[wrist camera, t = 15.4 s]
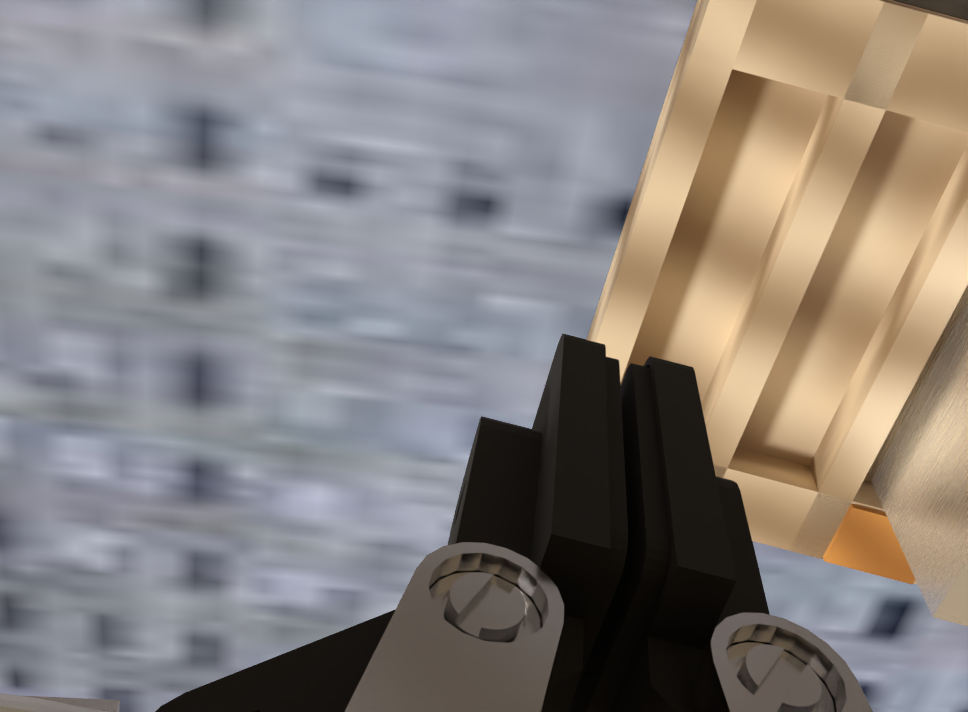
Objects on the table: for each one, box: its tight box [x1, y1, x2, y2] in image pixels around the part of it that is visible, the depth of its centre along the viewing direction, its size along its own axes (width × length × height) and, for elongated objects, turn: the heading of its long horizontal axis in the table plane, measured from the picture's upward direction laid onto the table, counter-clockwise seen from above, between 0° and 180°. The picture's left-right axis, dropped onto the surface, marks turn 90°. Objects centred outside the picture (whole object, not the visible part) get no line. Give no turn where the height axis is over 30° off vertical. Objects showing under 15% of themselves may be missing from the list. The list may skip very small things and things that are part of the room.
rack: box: [587, 0, 968, 584], centre depth 37 cm, size 22×18×3 cm
